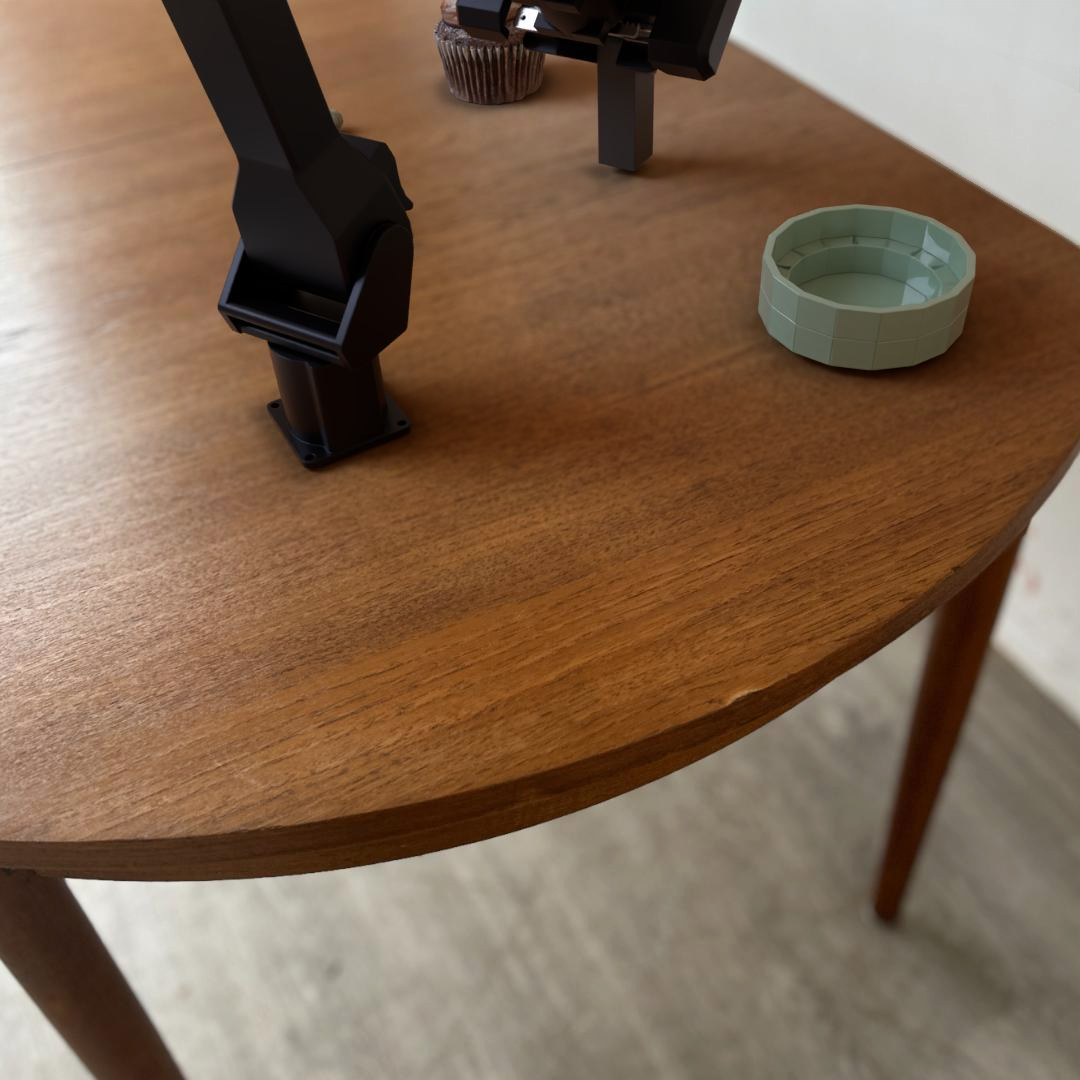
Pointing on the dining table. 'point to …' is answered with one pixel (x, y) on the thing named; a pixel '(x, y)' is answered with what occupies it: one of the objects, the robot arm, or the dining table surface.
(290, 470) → the dining table surface
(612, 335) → the dining table surface
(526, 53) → the cupcake
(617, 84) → the scraper
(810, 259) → the bowl
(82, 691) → the dining table surface
